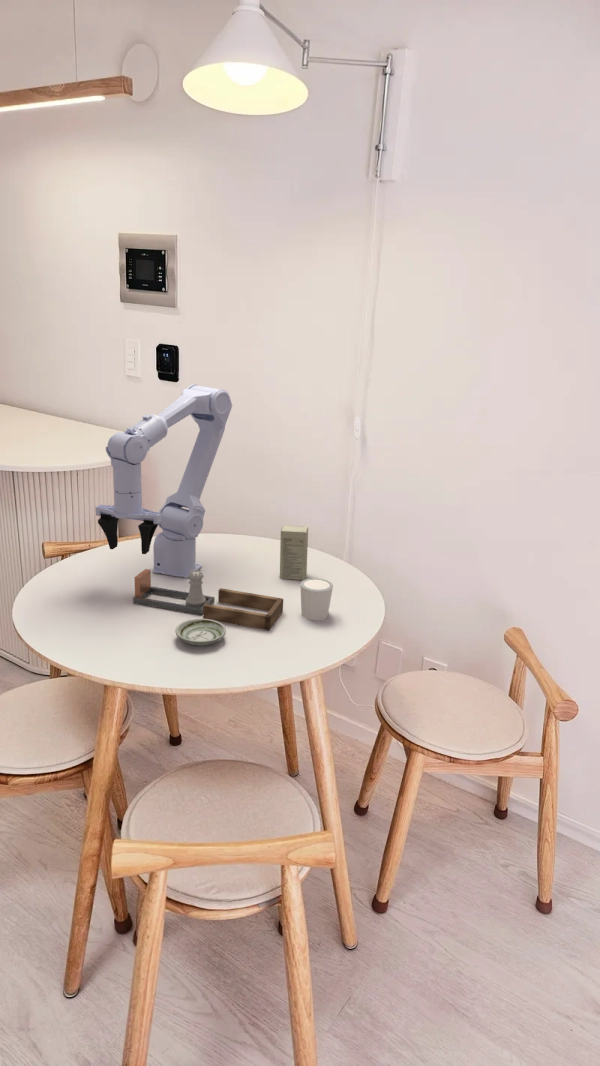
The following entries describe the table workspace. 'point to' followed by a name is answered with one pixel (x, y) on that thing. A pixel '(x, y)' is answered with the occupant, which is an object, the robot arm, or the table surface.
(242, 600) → the walnut lane
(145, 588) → the frame
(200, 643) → the saucer
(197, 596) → the rook chess piece
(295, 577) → the skincare box
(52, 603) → the table surface
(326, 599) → the shot glass
